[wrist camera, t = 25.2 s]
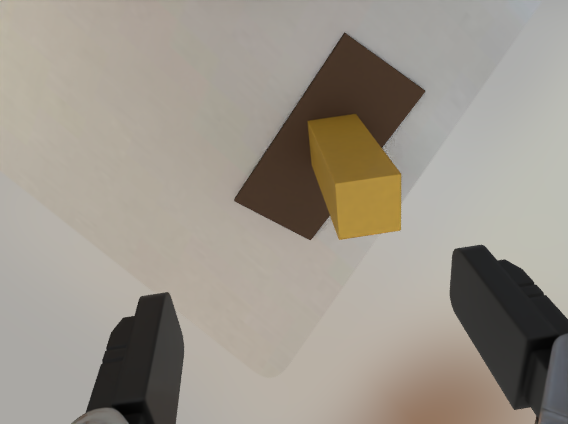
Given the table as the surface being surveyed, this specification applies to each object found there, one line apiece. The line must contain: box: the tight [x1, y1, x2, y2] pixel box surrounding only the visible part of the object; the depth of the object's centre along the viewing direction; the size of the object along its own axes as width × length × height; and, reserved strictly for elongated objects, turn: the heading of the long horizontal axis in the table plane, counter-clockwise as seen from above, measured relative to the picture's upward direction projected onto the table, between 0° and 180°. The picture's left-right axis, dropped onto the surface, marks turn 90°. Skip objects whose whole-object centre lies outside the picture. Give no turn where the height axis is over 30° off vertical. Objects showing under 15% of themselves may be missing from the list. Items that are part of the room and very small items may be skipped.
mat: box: [234, 33, 425, 240], centre depth 43 cm, size 18×9×1 cm, turn 147°
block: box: [307, 114, 401, 240], centre depth 37 cm, size 4×4×13 cm
